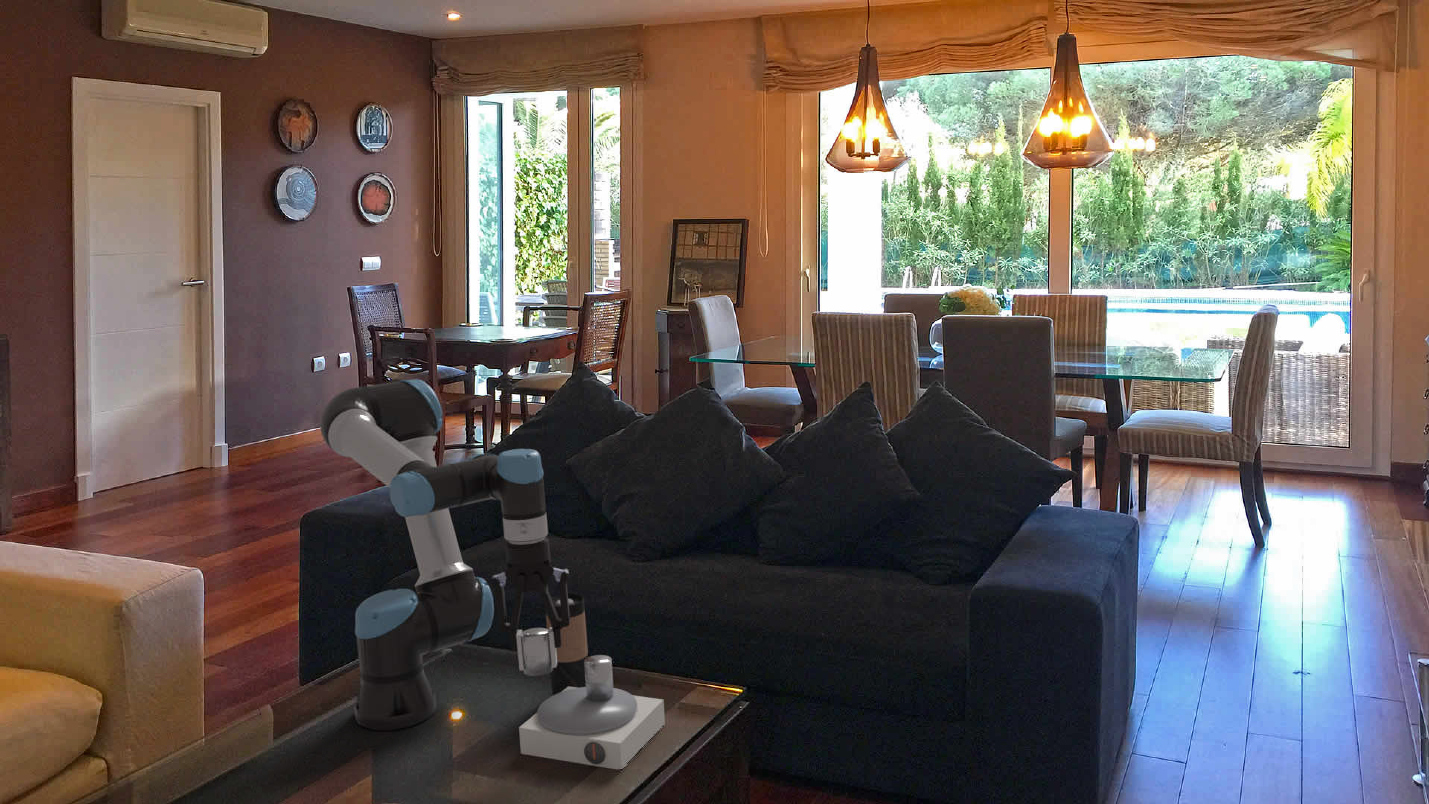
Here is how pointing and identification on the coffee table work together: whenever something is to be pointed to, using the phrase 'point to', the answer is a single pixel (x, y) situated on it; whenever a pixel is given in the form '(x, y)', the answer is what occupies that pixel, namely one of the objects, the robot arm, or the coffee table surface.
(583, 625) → the travel mug
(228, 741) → the coffee table surface
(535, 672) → the cylinder
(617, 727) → the scale
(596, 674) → the cylinder
